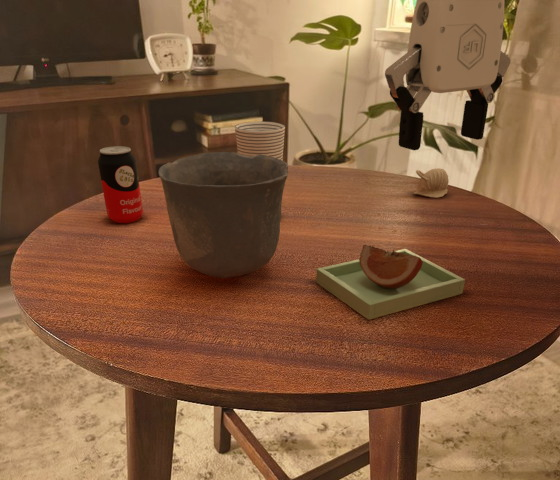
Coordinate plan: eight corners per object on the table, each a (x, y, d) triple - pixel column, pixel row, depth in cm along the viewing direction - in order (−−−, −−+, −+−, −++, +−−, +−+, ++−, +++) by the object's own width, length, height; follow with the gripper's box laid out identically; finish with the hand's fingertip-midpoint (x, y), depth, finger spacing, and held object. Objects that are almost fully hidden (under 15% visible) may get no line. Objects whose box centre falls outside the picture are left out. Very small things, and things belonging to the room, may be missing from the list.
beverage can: (103, 224, 100) (89, 153, 93) (115, 212, 105) (104, 145, 98) (137, 225, 99) (126, 154, 92) (148, 214, 104) (139, 145, 98)
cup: (292, 214, 104) (293, 123, 95) (271, 228, 98) (270, 132, 89) (252, 207, 107) (250, 119, 99) (229, 220, 101) (224, 128, 92)
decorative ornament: (452, 196, 113) (457, 168, 110) (416, 200, 111) (420, 172, 108) (441, 190, 116) (445, 163, 113) (406, 194, 114) (409, 167, 111)
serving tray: (403, 261, 85) (405, 248, 84) (462, 293, 76) (465, 279, 75) (316, 282, 79) (316, 268, 78) (368, 320, 70) (369, 304, 69)
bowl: (316, 273, 82) (320, 167, 74) (223, 313, 72) (215, 195, 63) (237, 241, 92) (232, 145, 84) (145, 272, 82) (130, 166, 74)
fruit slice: (349, 284, 77) (352, 249, 75) (373, 268, 82) (376, 235, 79) (404, 300, 73) (409, 265, 70) (427, 283, 78) (432, 248, 75)
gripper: (421, -34, 52) (403, 159, 61) (551, -36, 58) (517, 139, 68) (372, -30, 57) (363, 146, 67) (496, -32, 64) (472, 129, 74)
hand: (440, 142), depth 68 cm, fingers open, 9 cm apart
